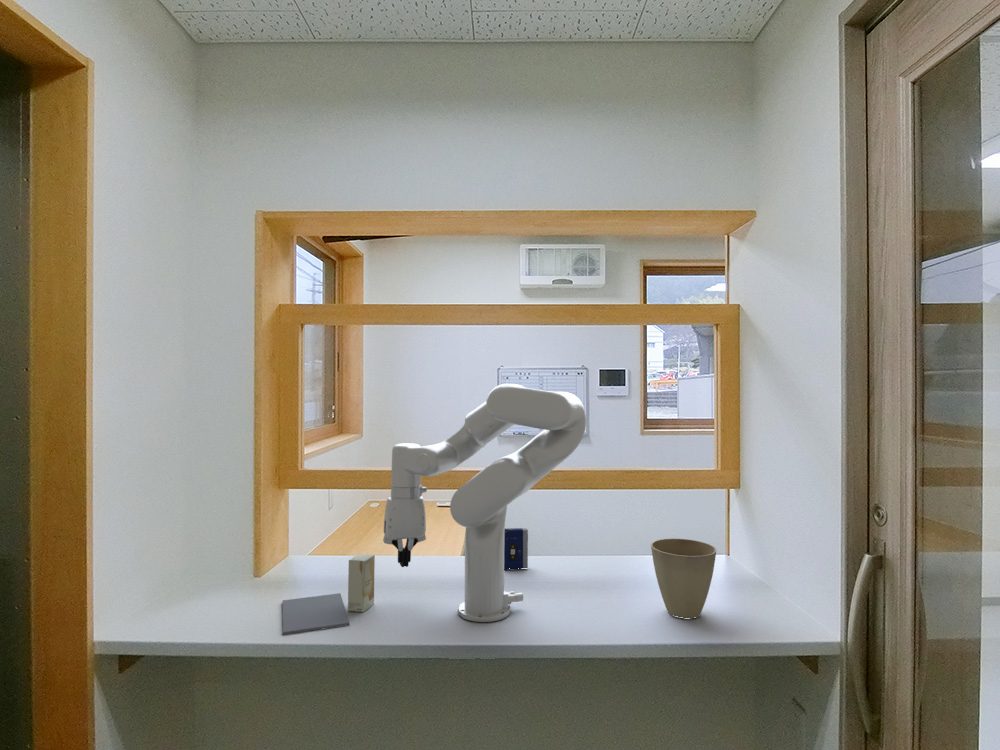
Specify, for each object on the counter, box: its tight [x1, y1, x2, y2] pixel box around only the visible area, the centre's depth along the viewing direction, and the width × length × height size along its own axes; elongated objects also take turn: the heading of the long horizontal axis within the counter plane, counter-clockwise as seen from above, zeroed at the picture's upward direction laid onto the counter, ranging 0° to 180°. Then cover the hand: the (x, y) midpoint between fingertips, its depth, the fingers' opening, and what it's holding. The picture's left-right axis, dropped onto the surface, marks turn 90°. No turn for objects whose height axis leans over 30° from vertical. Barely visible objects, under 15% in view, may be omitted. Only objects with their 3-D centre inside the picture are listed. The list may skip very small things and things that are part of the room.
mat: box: [282, 592, 350, 636], centre depth 135 cm, size 14×20×1 cm
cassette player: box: [504, 527, 529, 569], centre depth 169 cm, size 7×2×12 cm, turn 95°
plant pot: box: [650, 537, 717, 618], centre depth 135 cm, size 15×15×16 cm
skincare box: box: [347, 553, 376, 613], centre depth 139 cm, size 6×4×12 cm
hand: (403, 565), depth 143 cm, fingers closed
